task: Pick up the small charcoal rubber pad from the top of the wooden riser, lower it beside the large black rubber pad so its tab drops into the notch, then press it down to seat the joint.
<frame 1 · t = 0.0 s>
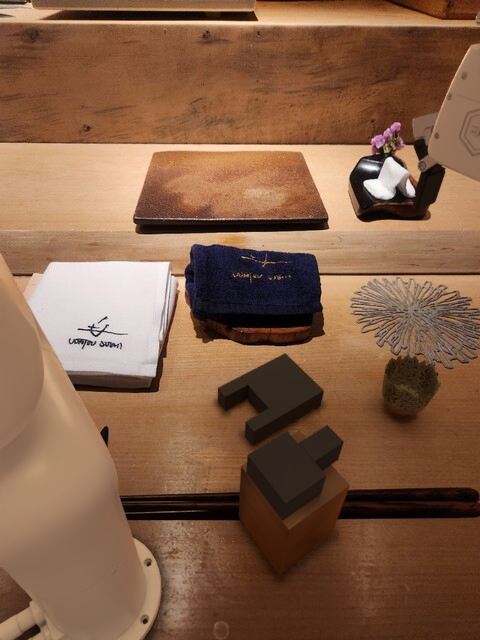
hand: (461, 224, 48), 31 cm above the counter, tool pointing down, fingers open, 9 cm apart
base pad: (271, 402, 69), on the counter
riser: (284, 525, 55), on the counter
cup: (398, 410, 69), on the counter
small pad: (283, 482, 47), point 12 cm above the counter, touching riser
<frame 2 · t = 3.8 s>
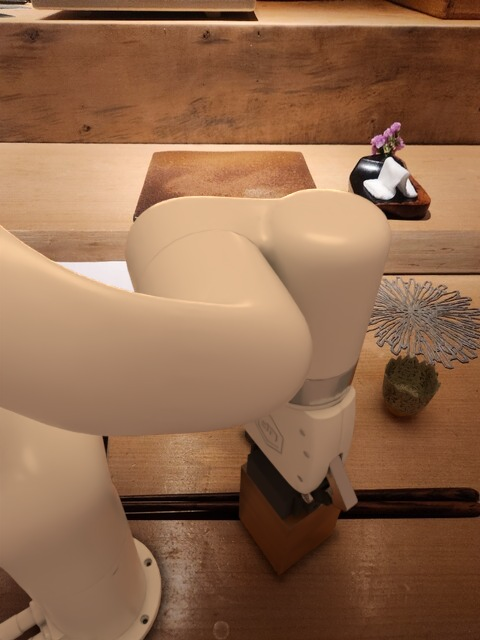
hand: (284, 478, 46), 13 cm above the counter, tool pointing down, fingers closed on small pad, 6 cm apart
small pad: (283, 482, 47), point 12 cm above the counter, touching gripper, riser
everything else where it was.
when the fingers open (1 cm above the counter, at t = 11.3 s): small pad stays where it is, on the counter.
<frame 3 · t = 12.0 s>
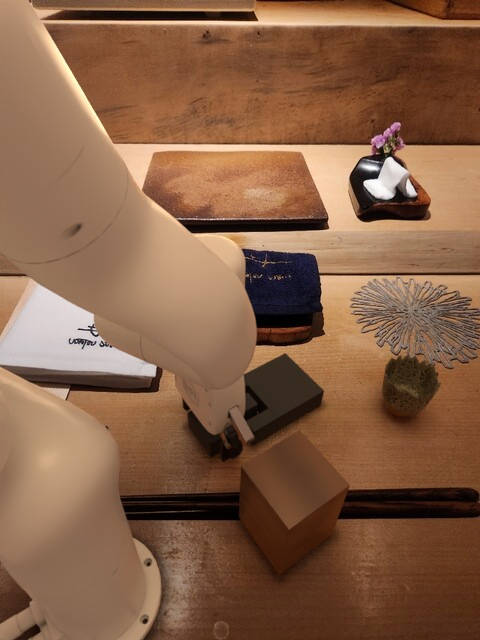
hand: (211, 429, 63), 2 cm above the counter, tool pointing down, fingers open, 9 cm apart
small pad: (214, 433, 65), on the counter
everything else where it was.
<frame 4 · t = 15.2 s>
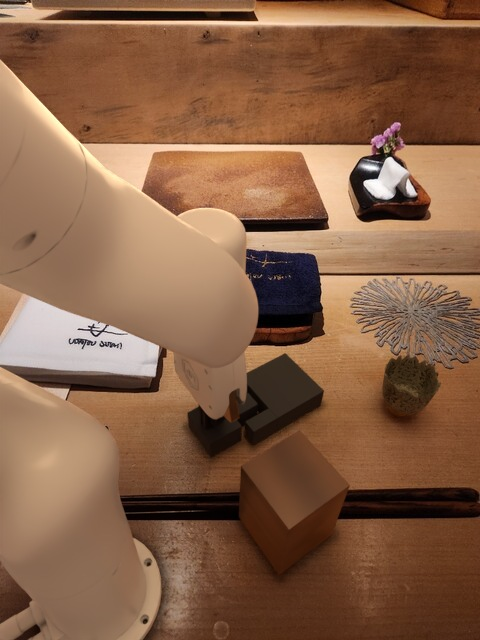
hand: (212, 420, 62), 4 cm above the counter, tool pointing down, fingers closed
small pad: (214, 433, 65), on the counter, touching gripper
everything else where it was.
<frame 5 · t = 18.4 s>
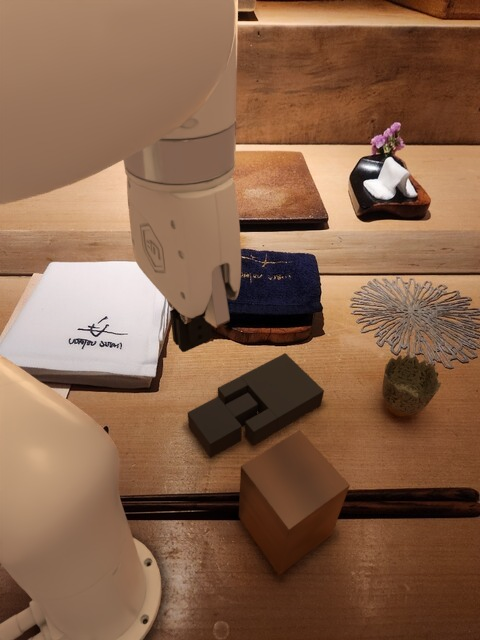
hand: (192, 341, 43), 25 cm above the counter, tool pointing down, fingers closed
small pad: (214, 433, 65), on the counter
everything else where it was.
at the end: small pad 0.4 cm from the target spot on the counter beside the base pad, on the counter; small pad tilted 0°; the gripper is holding nothing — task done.
